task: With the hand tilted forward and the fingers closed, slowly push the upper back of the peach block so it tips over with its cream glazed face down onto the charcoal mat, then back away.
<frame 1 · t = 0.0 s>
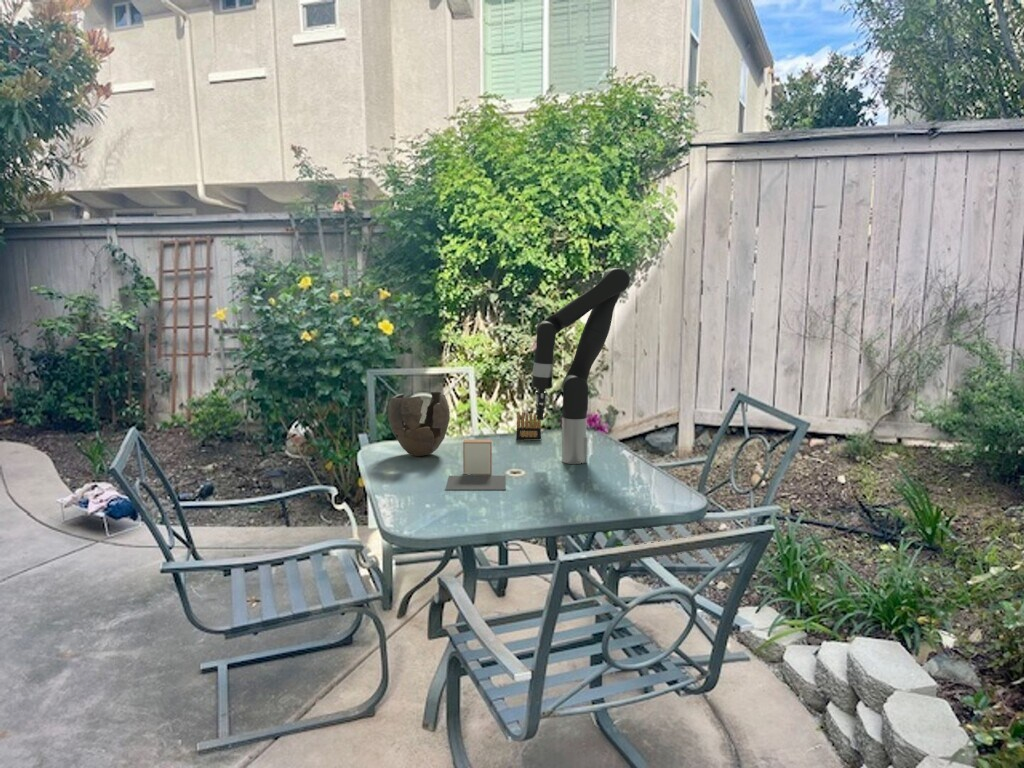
hand: (539, 417, 267), 17 cm above the table, tool pointing down, fingers open, 8 cm apart
ammunition clip: (528, 439, 305), on the table
peach block: (477, 473, 254), on the table
clay pot: (419, 455, 279), on the table
charcoal mat: (476, 483, 242), on the table
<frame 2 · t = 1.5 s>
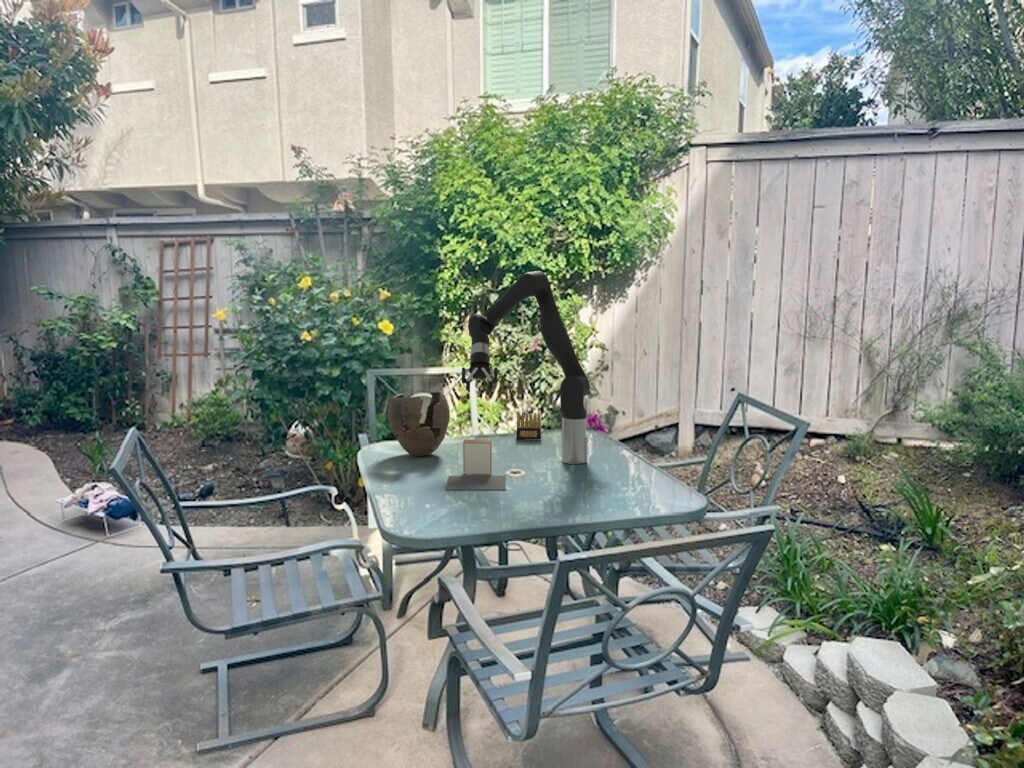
hand: (479, 391, 267), 27 cm above the table, tool tilted 45°, fingers open, 7 cm apart
nothing on the table moved.
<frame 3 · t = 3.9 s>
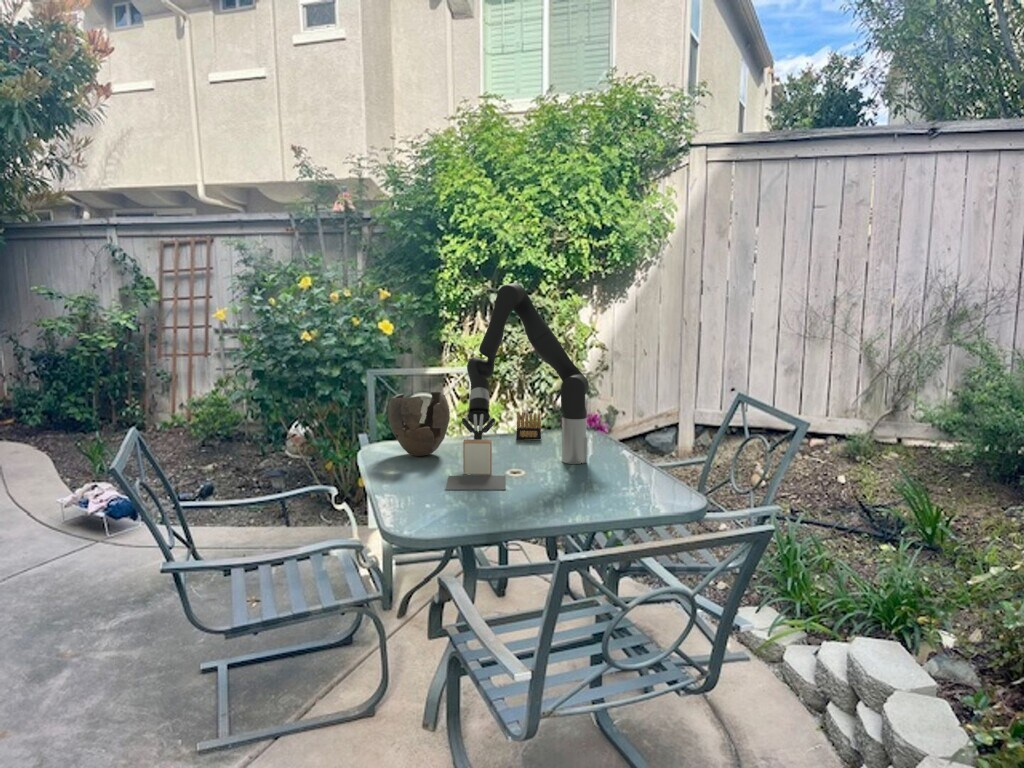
hand: (477, 441, 259), 10 cm above the table, tool tilted 45°, fingers closed
nothing on the table moved.
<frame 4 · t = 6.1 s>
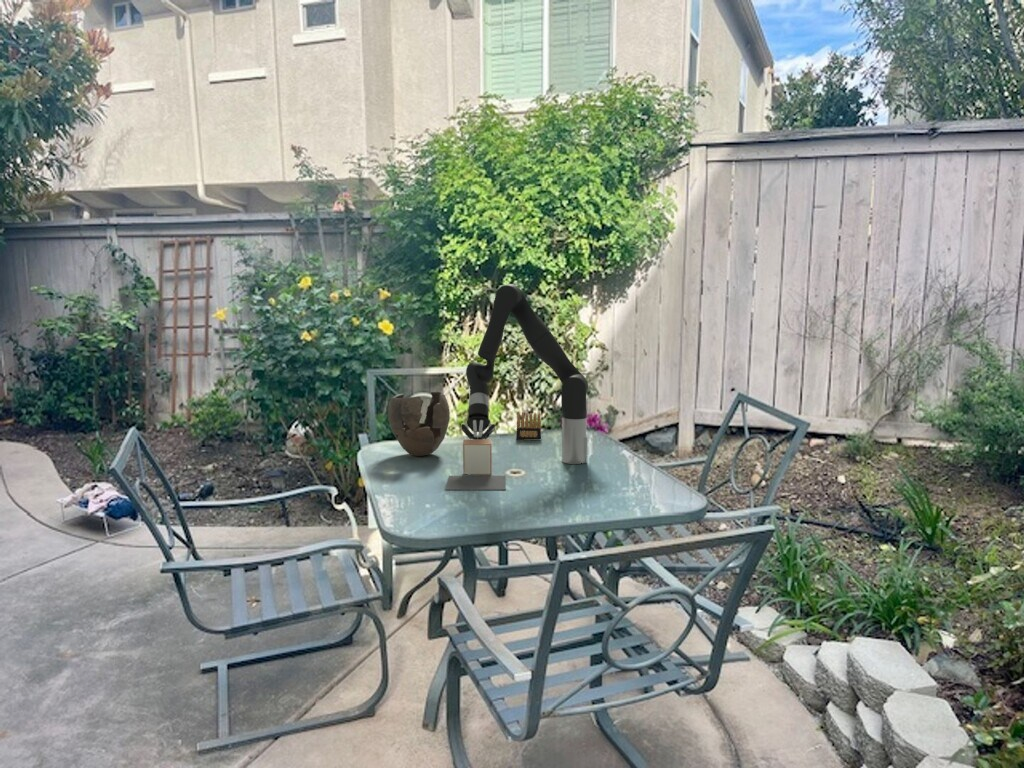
hand: (477, 447, 253), 9 cm above the table, tool tilted 45°, fingers closed
peach block: (477, 472, 253), on the table, tilted 9°, touching gripper
everything else where it was.
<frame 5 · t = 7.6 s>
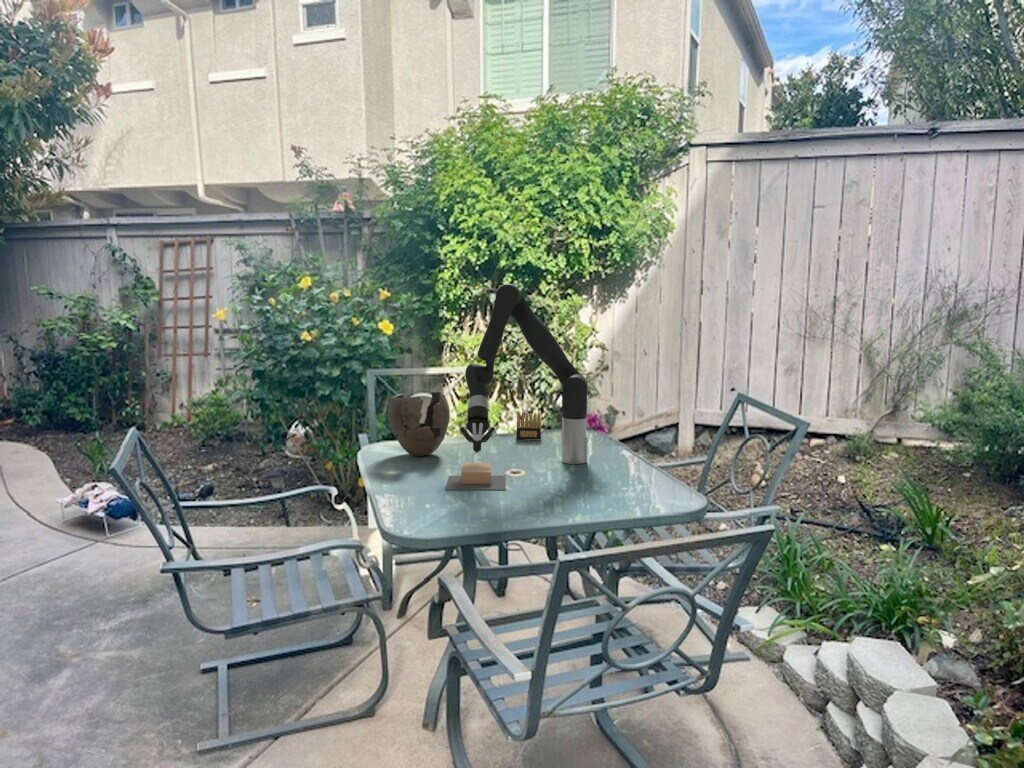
hand: (477, 451, 248), 9 cm above the table, tool tilted 45°, fingers closed
peach block: (477, 468, 251), point 2 cm above the table, tilted 90°, touching charcoal mat
everything else where it was.
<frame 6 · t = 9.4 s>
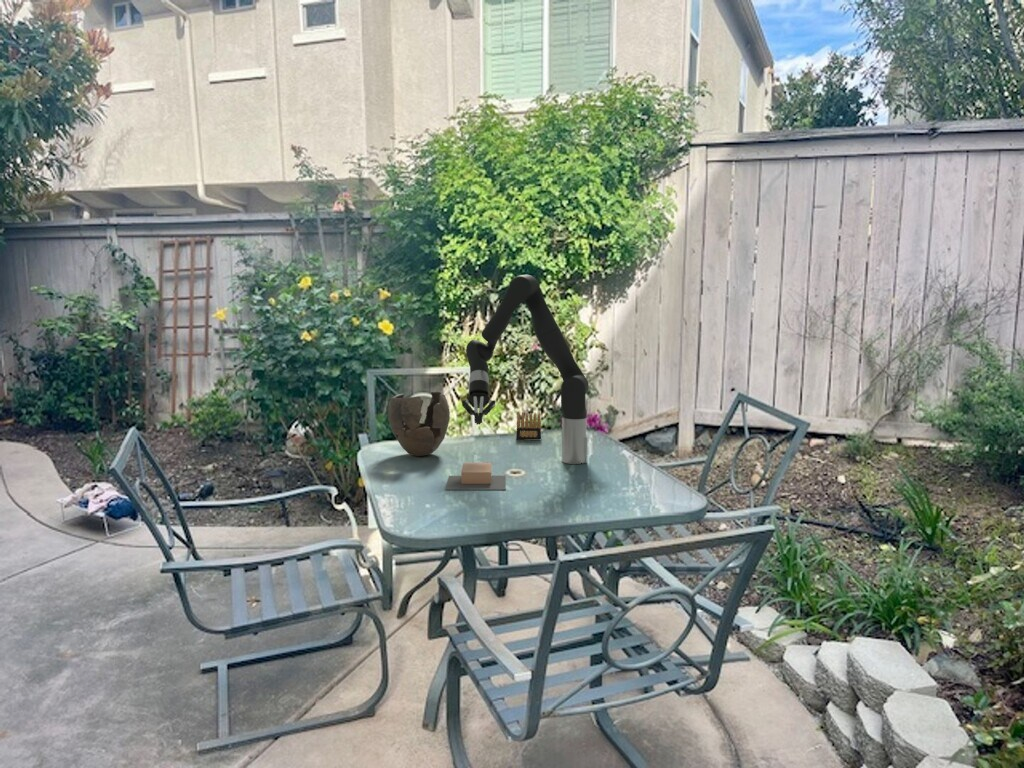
hand: (478, 423, 258), 17 cm above the table, tool tilted 45°, fingers closed
nothing on the table moved.
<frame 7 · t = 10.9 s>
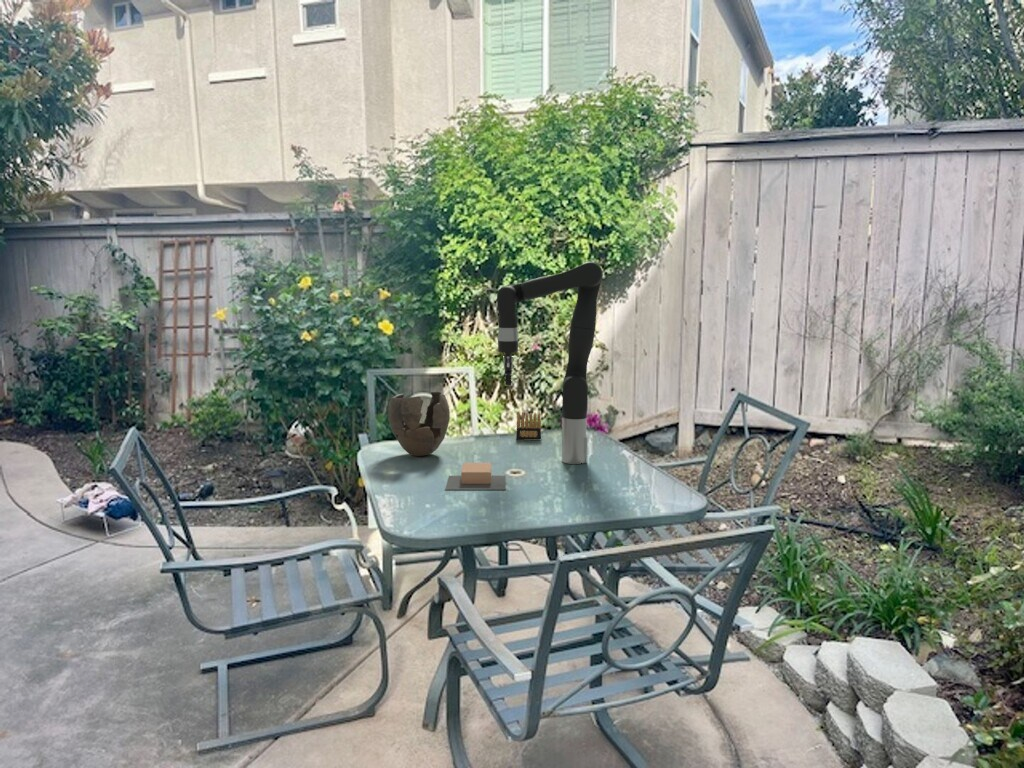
hand: (508, 384, 270), 29 cm above the table, tool pointing down, fingers closed
nothing on the table moved.
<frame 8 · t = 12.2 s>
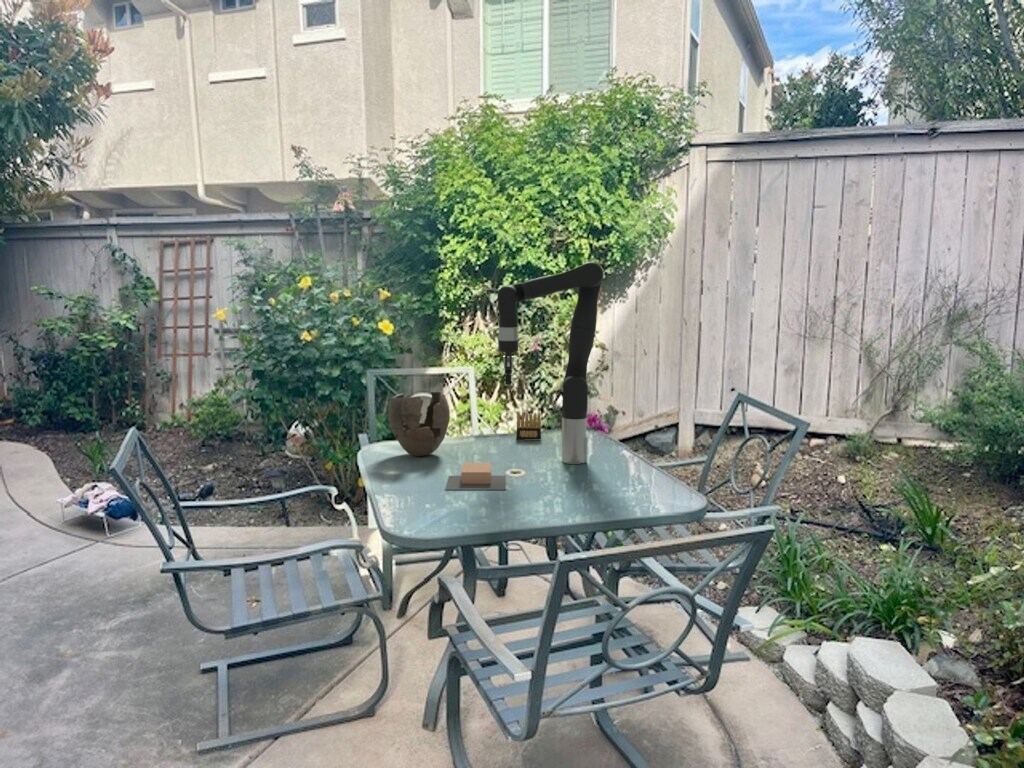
hand: (508, 384, 270), 29 cm above the table, tool pointing down, fingers closed
nothing on the table moved.
at the end: peach block tilted 90°; peach block touching charcoal mat; peach block inside the target area (1.5 cm from its centre), point 2.4 cm above the table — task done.
